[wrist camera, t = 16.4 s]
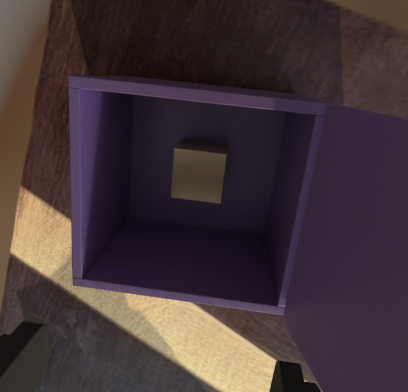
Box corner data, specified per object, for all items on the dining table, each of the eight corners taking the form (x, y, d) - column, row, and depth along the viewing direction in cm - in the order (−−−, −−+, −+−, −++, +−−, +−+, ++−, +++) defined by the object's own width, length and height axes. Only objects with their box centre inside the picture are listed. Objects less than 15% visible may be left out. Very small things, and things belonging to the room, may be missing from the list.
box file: (124, 220, 43) (72, 285, 29) (128, 75, 38) (67, 74, 24) (270, 239, 42) (285, 316, 29) (296, 93, 37) (330, 103, 23)
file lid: (504, 713, 11) (525, 706, 11) (899, 217, 6) (929, 219, 6) (281, 319, 28) (291, 319, 28) (326, 103, 23) (338, 104, 23)
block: (182, 139, 38) (174, 147, 34) (228, 144, 38) (226, 154, 33) (178, 183, 40) (170, 197, 35) (222, 188, 40) (220, 203, 35)
